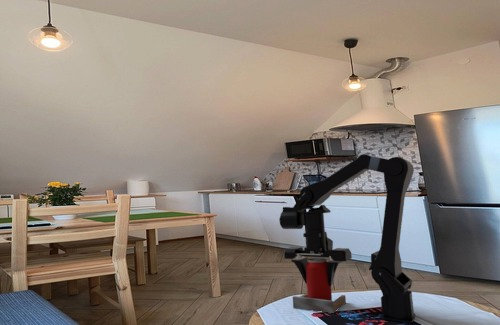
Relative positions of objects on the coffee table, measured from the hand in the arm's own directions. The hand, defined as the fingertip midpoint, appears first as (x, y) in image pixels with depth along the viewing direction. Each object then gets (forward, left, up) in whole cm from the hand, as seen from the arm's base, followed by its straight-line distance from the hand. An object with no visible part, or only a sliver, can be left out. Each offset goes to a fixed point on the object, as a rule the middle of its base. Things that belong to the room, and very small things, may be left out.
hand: (318, 284), depth 94 cm
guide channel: (0, 0, -6) cm, 6 cm away
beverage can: (0, 0, -5) cm, 5 cm away
